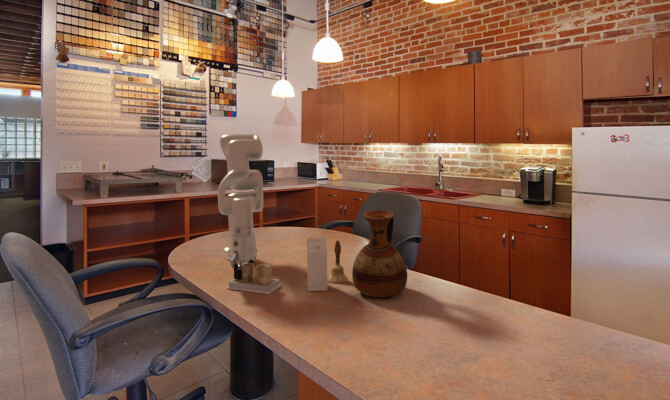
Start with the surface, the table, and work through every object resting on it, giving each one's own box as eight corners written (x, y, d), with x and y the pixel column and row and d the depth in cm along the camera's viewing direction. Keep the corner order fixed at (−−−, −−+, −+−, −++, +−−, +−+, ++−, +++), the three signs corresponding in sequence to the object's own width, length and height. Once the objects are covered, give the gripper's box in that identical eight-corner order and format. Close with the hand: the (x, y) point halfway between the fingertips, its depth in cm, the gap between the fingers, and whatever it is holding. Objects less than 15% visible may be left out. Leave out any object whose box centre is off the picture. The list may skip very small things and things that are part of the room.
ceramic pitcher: (344, 298, 137) (343, 213, 134) (361, 280, 156) (361, 205, 152) (400, 305, 131) (401, 215, 127) (411, 285, 149) (412, 207, 145)
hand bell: (350, 277, 159) (350, 239, 157) (344, 284, 151) (343, 243, 149) (331, 276, 162) (330, 237, 160) (324, 282, 154) (323, 242, 152)
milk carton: (307, 285, 151) (306, 236, 149) (326, 284, 152) (325, 235, 149) (308, 291, 144) (306, 240, 142) (327, 290, 145) (326, 240, 142)
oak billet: (247, 287, 148) (246, 266, 147) (236, 285, 149) (235, 265, 148) (254, 283, 152) (254, 262, 151) (243, 281, 154) (242, 261, 153)
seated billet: (253, 288, 147) (252, 267, 146) (260, 284, 151) (260, 263, 150) (265, 289, 145) (264, 268, 144) (272, 285, 149) (271, 264, 148)
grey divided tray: (227, 288, 148) (226, 281, 148) (240, 281, 157) (240, 274, 156) (269, 294, 142) (268, 287, 142) (281, 286, 150) (280, 279, 150)
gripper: (238, 236, 139) (240, 284, 141) (263, 226, 155) (265, 270, 157) (220, 234, 141) (222, 281, 144) (247, 225, 158) (249, 268, 160)
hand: (245, 275), depth 150 cm, fingers open, 8 cm apart
